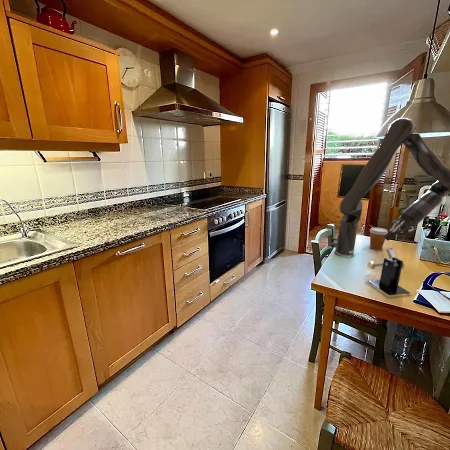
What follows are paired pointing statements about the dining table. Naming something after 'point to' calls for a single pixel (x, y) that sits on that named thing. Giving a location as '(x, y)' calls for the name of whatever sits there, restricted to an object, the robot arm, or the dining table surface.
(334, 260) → the dining table surface
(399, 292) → the bracket
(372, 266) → the lever
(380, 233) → the disposable coffee cup
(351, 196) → the robot arm
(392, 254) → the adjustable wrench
